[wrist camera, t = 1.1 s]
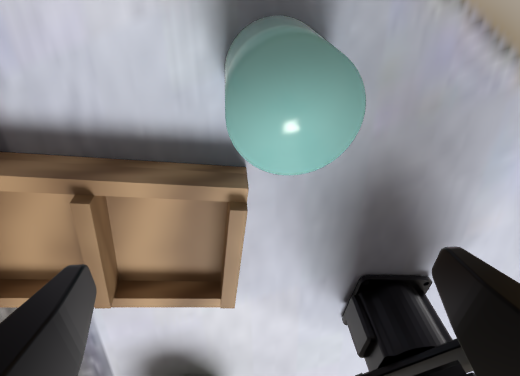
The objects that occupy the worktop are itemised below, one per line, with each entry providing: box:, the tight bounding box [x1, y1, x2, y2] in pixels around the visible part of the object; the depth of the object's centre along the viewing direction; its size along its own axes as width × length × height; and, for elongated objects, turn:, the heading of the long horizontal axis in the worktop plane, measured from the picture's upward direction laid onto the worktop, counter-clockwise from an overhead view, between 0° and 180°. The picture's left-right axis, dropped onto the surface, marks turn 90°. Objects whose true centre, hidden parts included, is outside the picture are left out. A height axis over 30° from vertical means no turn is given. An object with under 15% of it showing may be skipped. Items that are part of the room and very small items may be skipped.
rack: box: [0, 152, 248, 308], centre depth 21 cm, size 18×11×3 cm, turn 83°
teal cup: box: [225, 15, 366, 175], centre depth 15 cm, size 6×6×6 cm
